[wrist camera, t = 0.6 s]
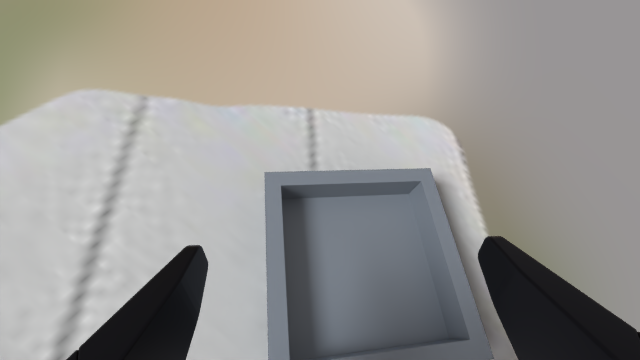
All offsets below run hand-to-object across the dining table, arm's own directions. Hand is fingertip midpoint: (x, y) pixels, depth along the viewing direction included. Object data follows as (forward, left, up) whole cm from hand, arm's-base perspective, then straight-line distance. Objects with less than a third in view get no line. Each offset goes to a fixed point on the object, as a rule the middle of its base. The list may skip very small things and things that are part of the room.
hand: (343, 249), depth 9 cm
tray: (+2, -4, -14) cm, 15 cm away
